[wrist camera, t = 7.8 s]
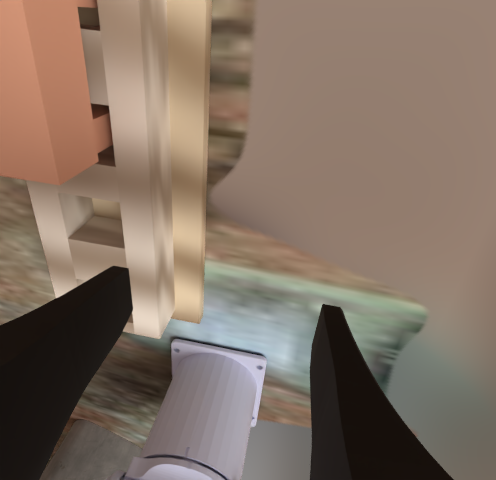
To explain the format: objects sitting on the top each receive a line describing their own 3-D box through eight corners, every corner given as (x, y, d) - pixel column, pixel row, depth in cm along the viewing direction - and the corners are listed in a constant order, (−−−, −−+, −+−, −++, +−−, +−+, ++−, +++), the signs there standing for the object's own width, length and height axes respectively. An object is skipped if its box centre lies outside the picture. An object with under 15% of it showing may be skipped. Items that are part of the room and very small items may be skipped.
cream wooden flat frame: (202, 314, 28) (186, 354, 25) (72, 289, 29) (39, 324, 26) (214, -96, 15) (184, -129, 12) (-17, -113, 17) (-104, -147, 13)
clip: (135, 138, 21) (59, 185, 15) (86, 131, 21) (-8, 174, 15) (121, -38, 16) (7, -71, 10) (60, -43, 17) (-85, -79, 11)
